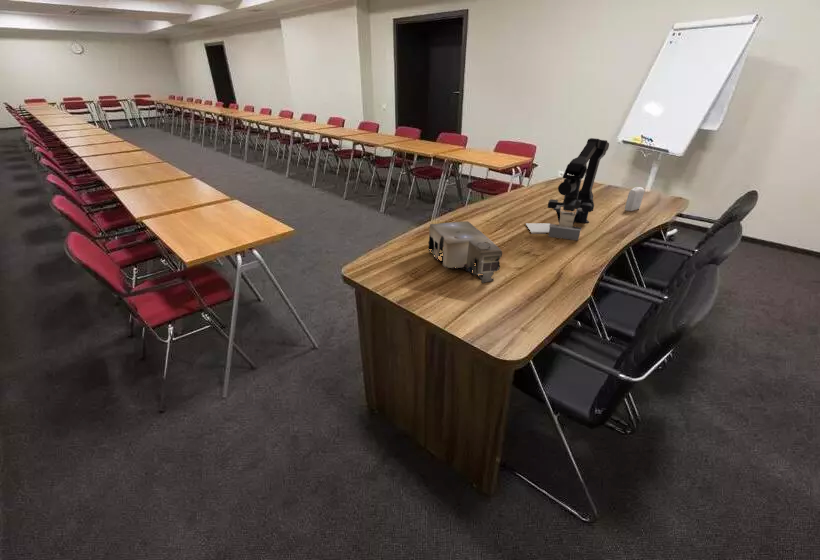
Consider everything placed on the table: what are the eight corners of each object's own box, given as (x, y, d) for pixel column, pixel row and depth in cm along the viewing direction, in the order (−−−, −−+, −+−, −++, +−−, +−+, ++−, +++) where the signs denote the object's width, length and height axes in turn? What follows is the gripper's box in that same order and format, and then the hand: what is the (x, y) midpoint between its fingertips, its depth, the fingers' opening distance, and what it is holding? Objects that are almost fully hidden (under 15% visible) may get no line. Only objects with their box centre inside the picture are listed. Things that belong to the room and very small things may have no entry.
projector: (452, 287, 135) (455, 252, 129) (427, 252, 163) (428, 222, 157) (500, 282, 139) (505, 248, 133) (467, 249, 167) (470, 219, 161)
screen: (548, 234, 179) (549, 223, 177) (579, 238, 174) (581, 227, 172) (547, 236, 177) (549, 225, 174) (578, 240, 172) (581, 229, 170)
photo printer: (633, 206, 216) (639, 185, 210) (640, 208, 213) (647, 186, 207) (623, 210, 211) (628, 187, 205) (630, 212, 208) (636, 189, 202)
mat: (525, 224, 192) (525, 223, 191) (549, 224, 191) (549, 223, 191) (530, 233, 181) (531, 231, 181) (556, 233, 180) (556, 231, 180)
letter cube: (559, 223, 184) (561, 210, 182) (572, 224, 182) (575, 212, 179) (558, 227, 180) (560, 214, 177) (572, 228, 178) (574, 216, 175)
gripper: (549, 193, 170) (543, 226, 177) (594, 197, 163) (587, 231, 171) (551, 187, 179) (546, 218, 186) (594, 190, 172) (587, 223, 180)
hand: (566, 223), depth 180 cm, fingers closed on letter cube, 6 cm apart
